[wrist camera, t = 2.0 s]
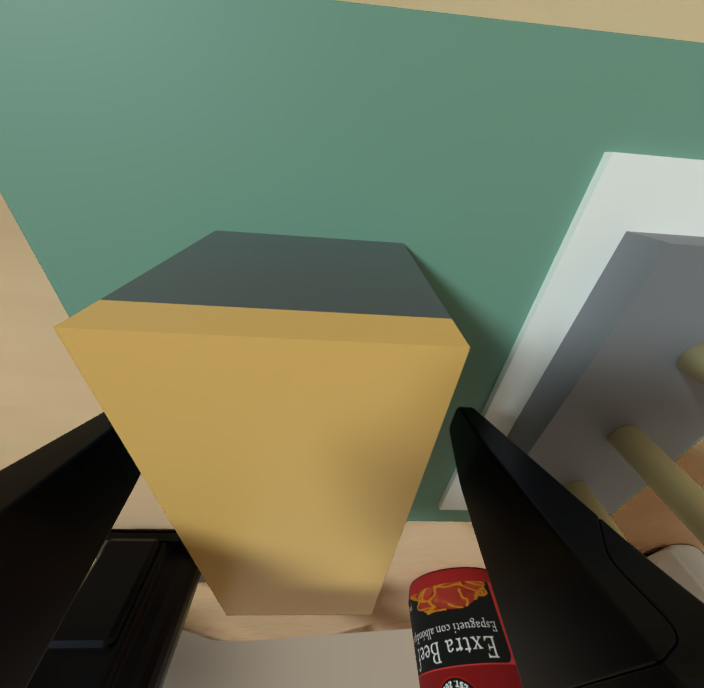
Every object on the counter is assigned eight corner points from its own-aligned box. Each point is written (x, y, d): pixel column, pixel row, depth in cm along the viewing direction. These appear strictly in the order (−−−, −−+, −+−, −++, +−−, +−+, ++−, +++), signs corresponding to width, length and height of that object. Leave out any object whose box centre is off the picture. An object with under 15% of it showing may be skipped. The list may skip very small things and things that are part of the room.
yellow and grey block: (363, 479, 11) (371, 614, 8) (262, 477, 11) (226, 615, 8) (403, 243, 6) (470, 346, 3) (215, 230, 6) (51, 327, 3)
